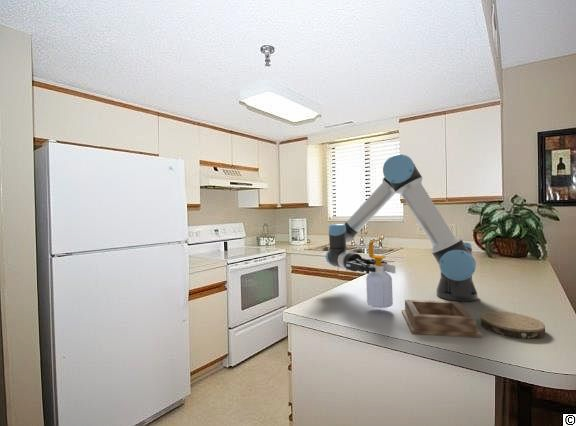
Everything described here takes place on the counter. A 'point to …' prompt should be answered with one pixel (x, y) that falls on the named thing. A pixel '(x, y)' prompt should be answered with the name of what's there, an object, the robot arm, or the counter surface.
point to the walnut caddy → (439, 318)
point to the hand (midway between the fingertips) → (388, 270)
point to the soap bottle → (378, 284)
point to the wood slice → (513, 325)
